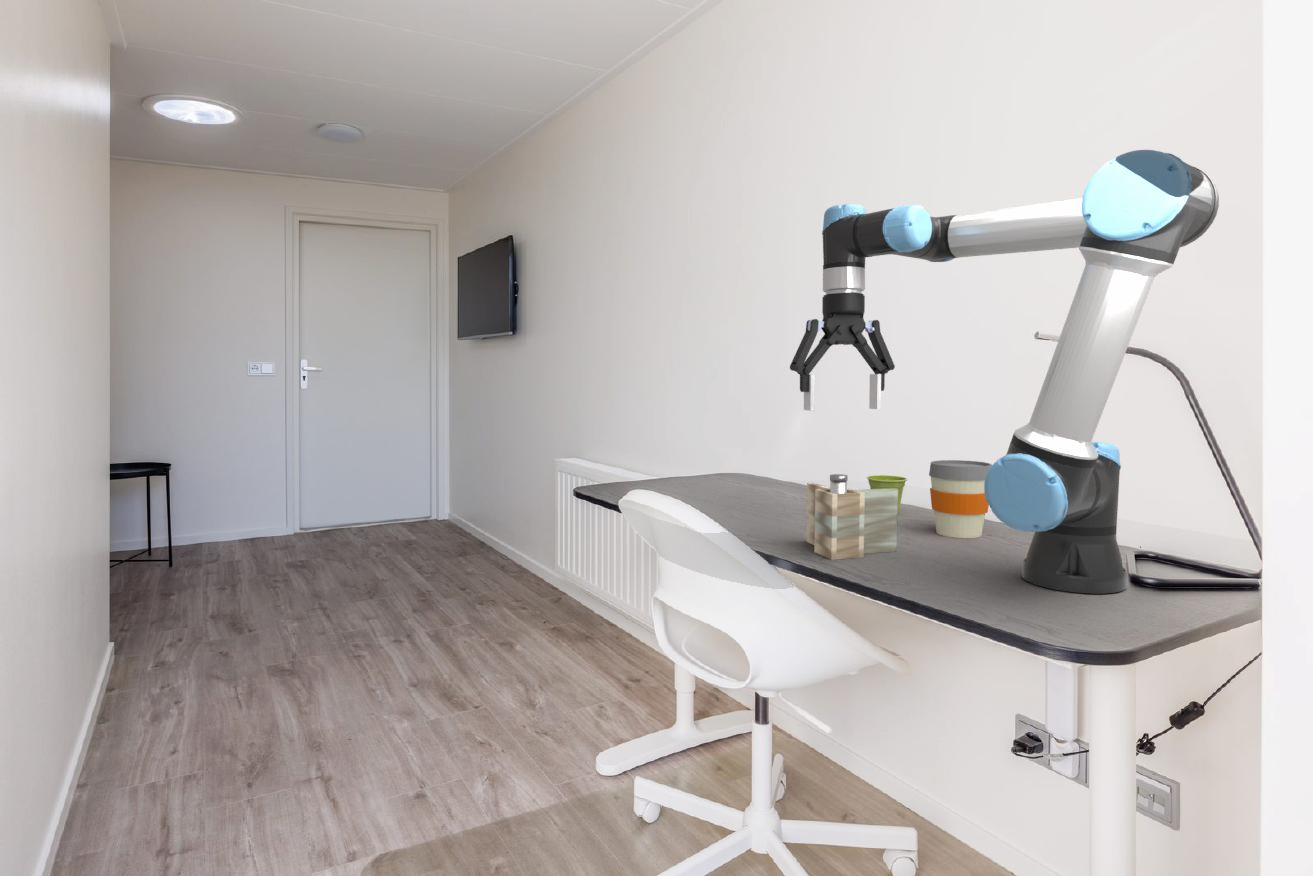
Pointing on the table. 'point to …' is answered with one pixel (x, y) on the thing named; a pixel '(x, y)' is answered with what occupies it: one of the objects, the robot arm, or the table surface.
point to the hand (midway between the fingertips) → (842, 409)
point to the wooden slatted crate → (851, 521)
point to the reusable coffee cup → (959, 497)
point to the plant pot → (888, 484)
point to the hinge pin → (838, 483)
